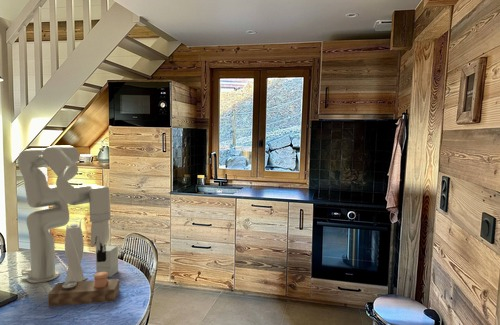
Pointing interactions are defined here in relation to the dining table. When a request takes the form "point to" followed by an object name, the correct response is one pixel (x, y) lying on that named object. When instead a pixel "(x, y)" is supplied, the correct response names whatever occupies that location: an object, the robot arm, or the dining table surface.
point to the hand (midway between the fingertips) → (101, 261)
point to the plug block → (83, 293)
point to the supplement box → (109, 261)
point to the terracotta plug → (101, 279)
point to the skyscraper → (74, 252)
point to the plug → (69, 285)
